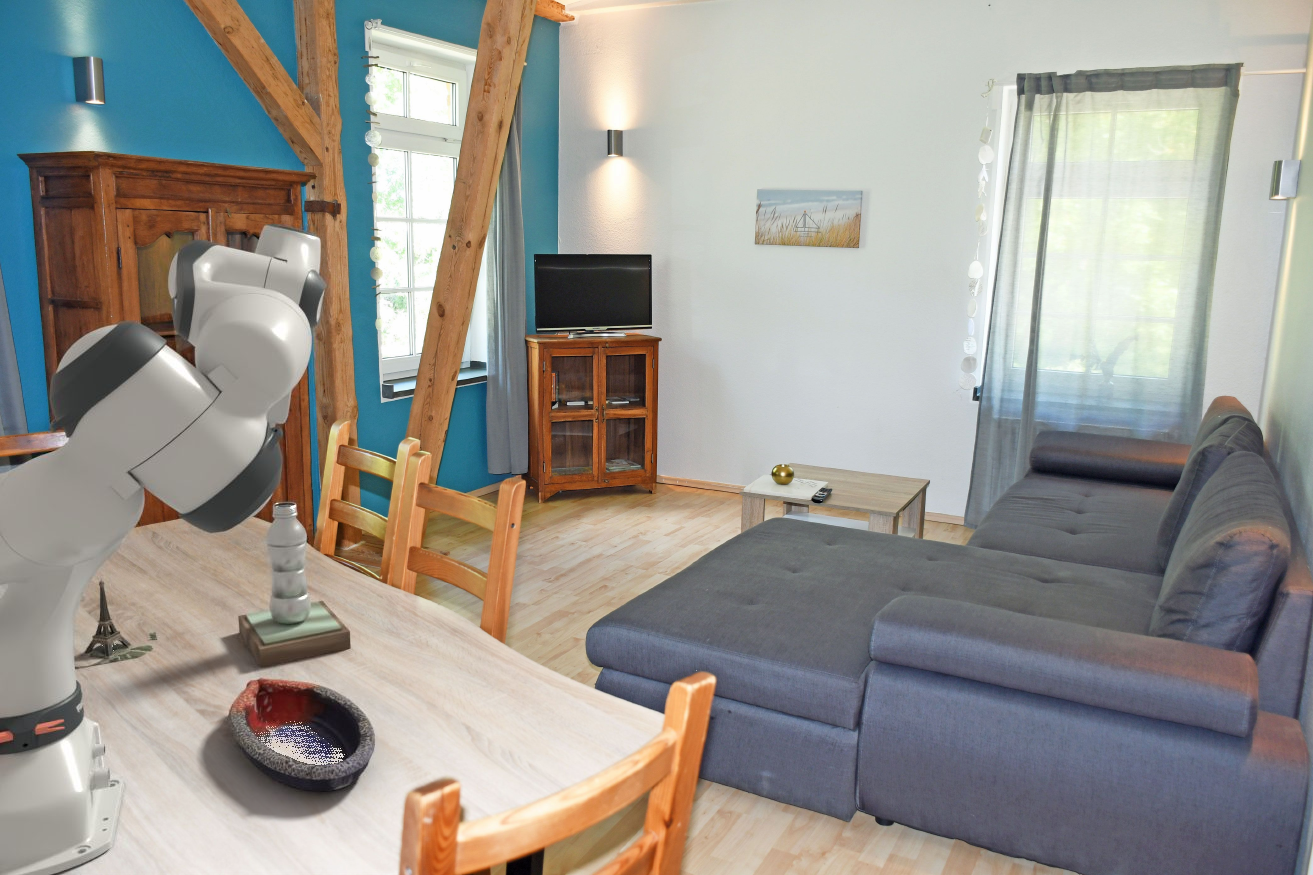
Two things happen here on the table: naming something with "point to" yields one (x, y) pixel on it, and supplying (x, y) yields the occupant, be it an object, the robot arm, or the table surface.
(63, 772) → the robot arm
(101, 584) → the eiffel tower figurine
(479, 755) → the table surface
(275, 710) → the dish
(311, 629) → the walnut stand
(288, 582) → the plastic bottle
